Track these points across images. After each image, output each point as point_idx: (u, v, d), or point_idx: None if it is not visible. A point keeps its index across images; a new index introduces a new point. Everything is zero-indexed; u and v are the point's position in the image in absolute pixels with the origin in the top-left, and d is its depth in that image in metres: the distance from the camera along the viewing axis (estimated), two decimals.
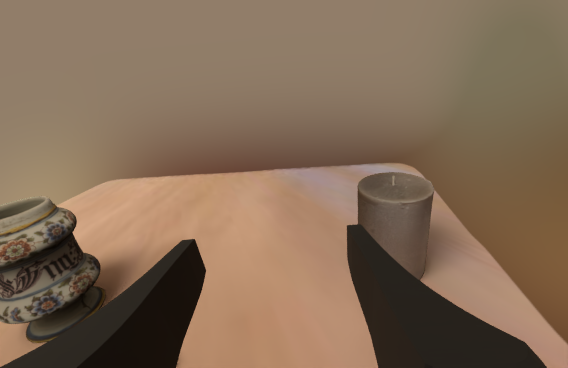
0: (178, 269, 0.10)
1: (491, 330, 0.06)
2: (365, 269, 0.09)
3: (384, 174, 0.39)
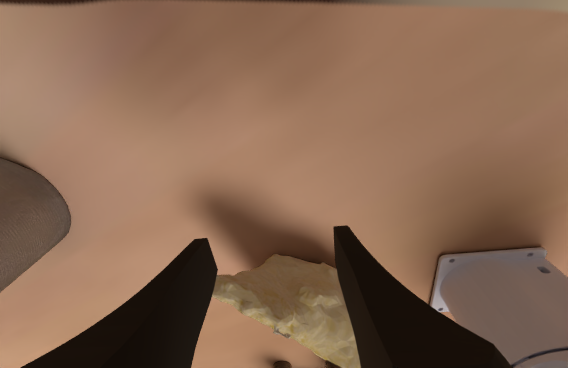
0: (192, 268, 0.10)
1: (462, 332, 0.06)
2: (348, 270, 0.09)
3: None
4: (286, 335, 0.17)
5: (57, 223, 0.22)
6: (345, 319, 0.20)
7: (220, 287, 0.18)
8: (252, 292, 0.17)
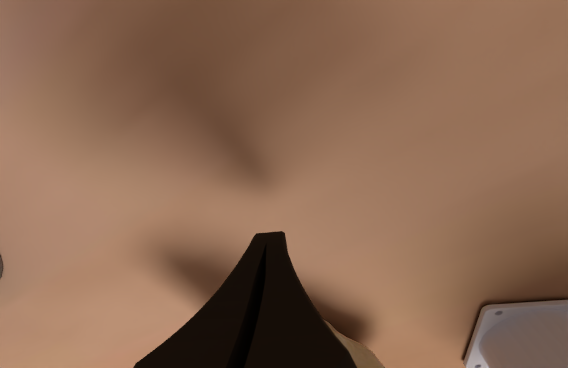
0: (264, 262, 0.10)
1: (328, 340, 0.06)
2: None
3: None
4: None
5: None
6: None
7: None
8: None
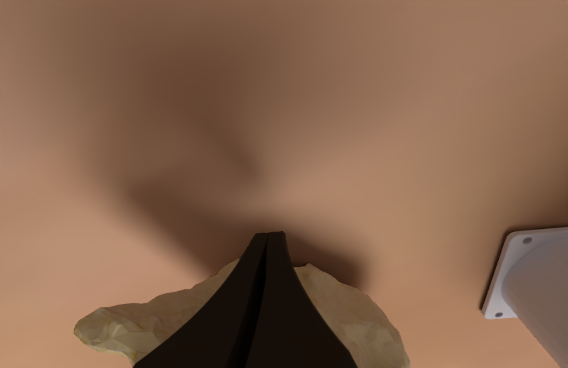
0: (263, 262, 0.10)
1: (329, 339, 0.06)
2: None
3: None
4: None
5: None
6: None
7: (102, 330, 0.10)
8: (155, 335, 0.10)
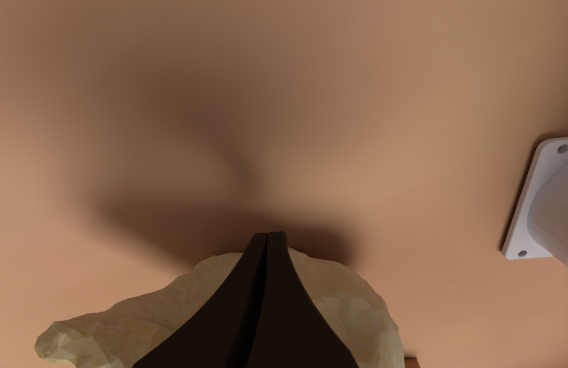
0: (263, 262, 0.10)
1: (330, 339, 0.06)
2: None
3: None
4: None
5: None
6: None
7: (52, 342, 0.10)
8: (94, 339, 0.10)
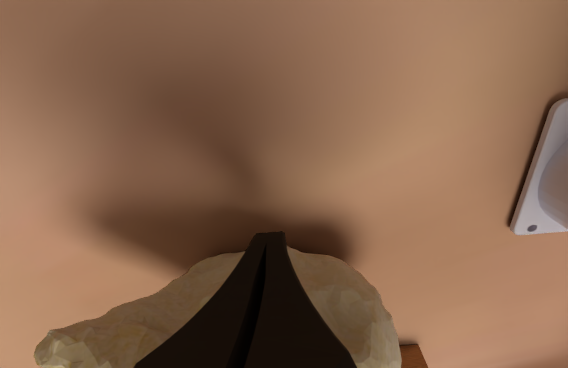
0: (264, 262, 0.10)
1: (328, 339, 0.06)
2: None
3: None
4: None
5: None
6: None
7: (49, 349, 0.11)
8: (85, 343, 0.10)
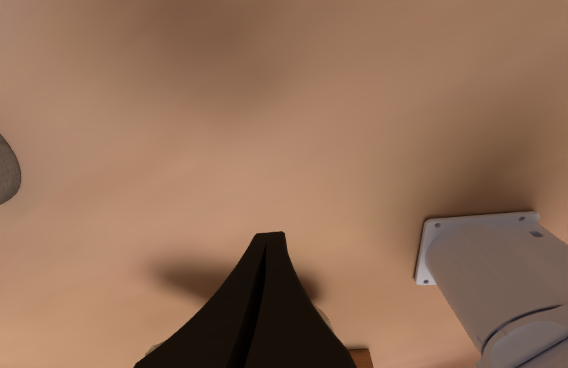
0: (264, 262, 0.10)
1: (328, 339, 0.06)
2: None
3: None
4: None
5: (1, 173, 0.20)
6: None
7: None
8: None
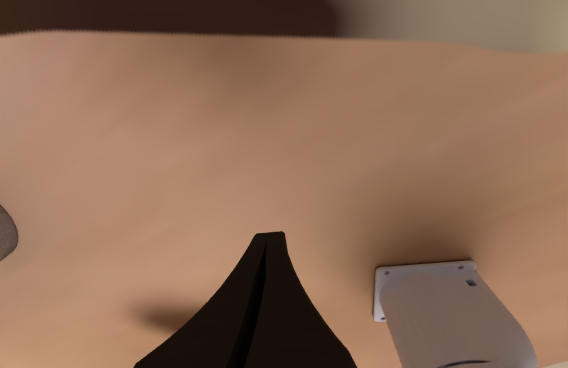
0: (264, 262, 0.10)
1: (328, 339, 0.06)
2: None
3: None
4: None
5: (1, 238, 0.23)
6: None
7: None
8: None
